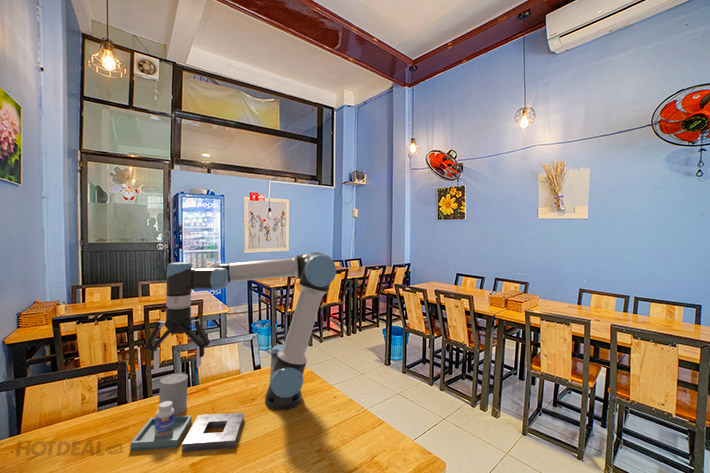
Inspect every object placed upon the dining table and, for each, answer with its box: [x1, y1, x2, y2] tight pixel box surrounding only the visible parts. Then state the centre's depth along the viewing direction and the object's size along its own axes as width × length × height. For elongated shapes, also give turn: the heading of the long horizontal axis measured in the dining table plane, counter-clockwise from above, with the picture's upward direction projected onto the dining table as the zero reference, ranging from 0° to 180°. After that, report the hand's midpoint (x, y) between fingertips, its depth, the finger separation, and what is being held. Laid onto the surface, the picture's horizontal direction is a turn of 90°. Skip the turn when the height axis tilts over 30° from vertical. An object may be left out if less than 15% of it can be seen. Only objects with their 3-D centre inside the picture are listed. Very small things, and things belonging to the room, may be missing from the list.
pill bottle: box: [155, 401, 174, 437], centre depth 106 cm, size 5×5×10 cm
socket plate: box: [181, 412, 245, 453], centre depth 107 cm, size 16×16×2 cm
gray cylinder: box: [158, 372, 189, 416], centre depth 121 cm, size 10×10×12 cm
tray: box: [129, 415, 193, 452], centre depth 105 cm, size 14×14×2 cm
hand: (178, 367), depth 108 cm, fingers open, 13 cm apart
